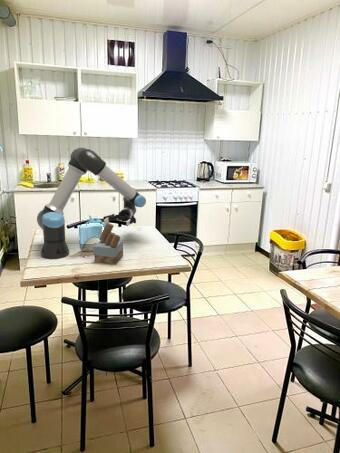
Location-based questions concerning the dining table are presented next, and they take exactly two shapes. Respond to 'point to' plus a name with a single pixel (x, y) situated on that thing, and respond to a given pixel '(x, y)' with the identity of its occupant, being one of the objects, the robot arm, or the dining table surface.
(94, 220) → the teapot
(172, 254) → the dining table surface
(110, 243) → the wooden block set
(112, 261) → the tower base
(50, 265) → the dining table surface
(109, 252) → the tower top
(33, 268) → the dining table surface
